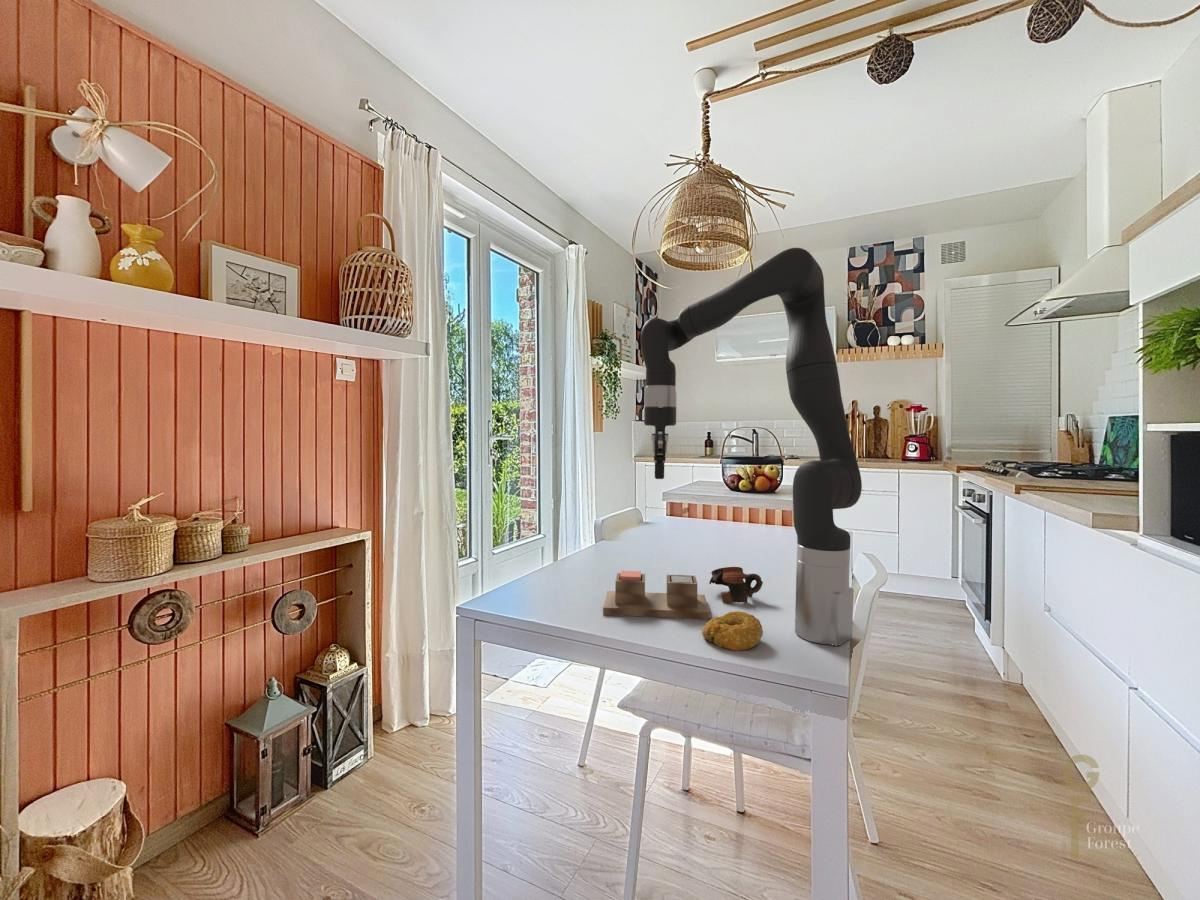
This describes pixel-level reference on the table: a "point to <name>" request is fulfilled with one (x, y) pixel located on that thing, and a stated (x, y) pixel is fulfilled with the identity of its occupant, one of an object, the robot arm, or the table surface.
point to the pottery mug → (736, 583)
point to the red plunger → (630, 575)
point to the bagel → (734, 631)
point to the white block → (681, 579)
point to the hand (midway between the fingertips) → (659, 478)
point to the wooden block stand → (656, 600)
